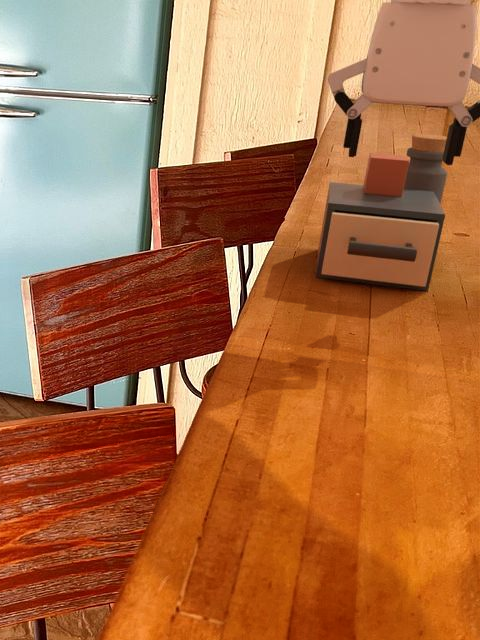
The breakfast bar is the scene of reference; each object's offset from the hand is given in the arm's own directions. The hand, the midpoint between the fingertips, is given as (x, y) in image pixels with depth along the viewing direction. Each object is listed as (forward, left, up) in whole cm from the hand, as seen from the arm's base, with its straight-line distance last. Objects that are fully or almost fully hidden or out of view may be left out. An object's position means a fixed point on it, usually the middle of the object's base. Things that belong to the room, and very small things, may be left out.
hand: (398, 159), depth 96 cm
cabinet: (-2, -11, -15) cm, 19 cm away
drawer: (-1, -6, -14) cm, 16 cm away
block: (-2, -14, -6) cm, 16 cm away
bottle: (-10, -25, -15) cm, 31 cm away
